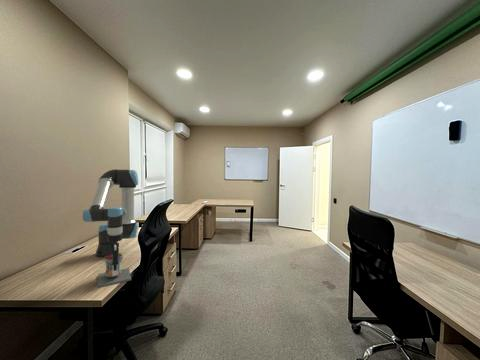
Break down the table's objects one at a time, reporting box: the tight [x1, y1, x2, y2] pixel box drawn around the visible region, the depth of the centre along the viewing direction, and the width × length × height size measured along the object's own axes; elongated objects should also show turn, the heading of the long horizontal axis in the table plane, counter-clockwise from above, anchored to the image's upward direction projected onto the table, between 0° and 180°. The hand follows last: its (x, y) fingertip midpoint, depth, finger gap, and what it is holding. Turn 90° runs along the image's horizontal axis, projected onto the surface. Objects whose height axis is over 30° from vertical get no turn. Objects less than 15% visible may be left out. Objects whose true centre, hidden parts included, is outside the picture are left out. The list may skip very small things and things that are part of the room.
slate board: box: [97, 267, 132, 288], centre depth 123 cm, size 16×16×1 cm
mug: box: [103, 253, 124, 277], centre depth 124 cm, size 12×9×11 cm
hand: (114, 272), depth 123 cm, fingers closed on mug, 8 cm apart
